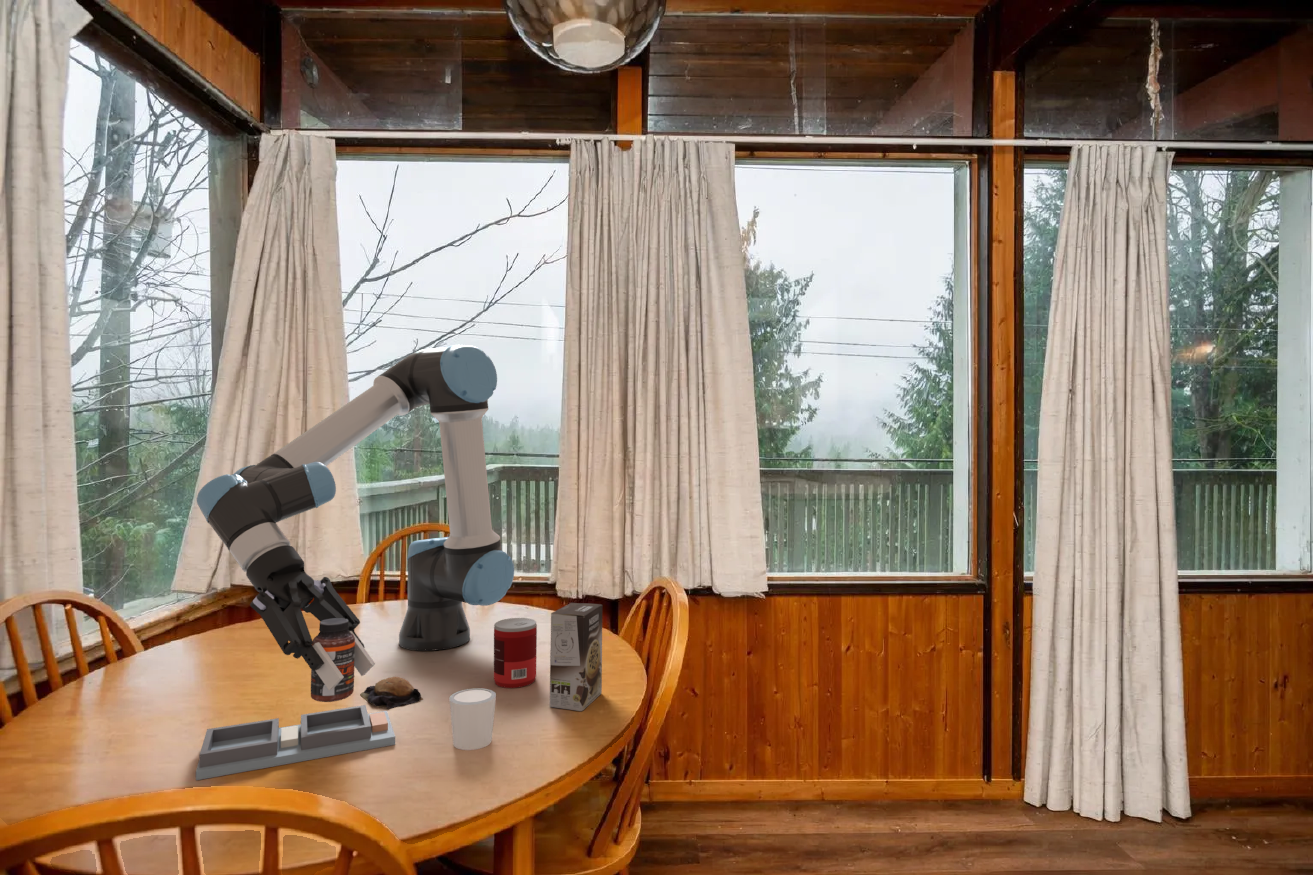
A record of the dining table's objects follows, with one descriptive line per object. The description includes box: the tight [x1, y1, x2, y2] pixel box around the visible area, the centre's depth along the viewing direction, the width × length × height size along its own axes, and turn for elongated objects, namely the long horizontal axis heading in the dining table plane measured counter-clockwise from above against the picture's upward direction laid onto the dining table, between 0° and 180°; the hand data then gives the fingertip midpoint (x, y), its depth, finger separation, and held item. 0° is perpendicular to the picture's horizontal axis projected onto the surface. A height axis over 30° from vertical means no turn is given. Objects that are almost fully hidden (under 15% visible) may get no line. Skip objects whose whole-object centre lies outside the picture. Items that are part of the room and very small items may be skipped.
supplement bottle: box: [310, 618, 356, 703], centre depth 106 cm, size 6×6×11 cm
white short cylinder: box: [449, 687, 497, 751], centre depth 106 cm, size 7×7×7 cm
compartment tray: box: [195, 704, 396, 781], centre depth 104 cm, size 25×11×3 cm, turn 117°
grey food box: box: [549, 602, 603, 712], centre depth 124 cm, size 9×6×16 cm
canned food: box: [493, 617, 538, 689], centre depth 133 cm, size 8×8×11 cm
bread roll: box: [359, 676, 424, 710], centre depth 124 cm, size 11×8×4 cm
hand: (352, 676), depth 105 cm, fingers closed on supplement bottle, 6 cm apart
